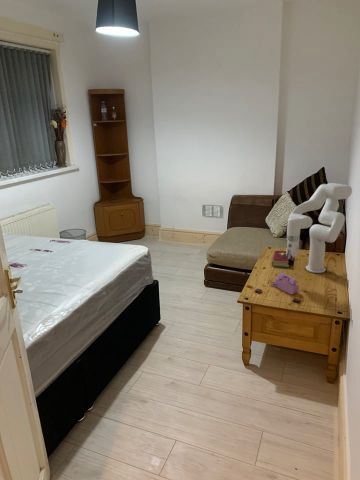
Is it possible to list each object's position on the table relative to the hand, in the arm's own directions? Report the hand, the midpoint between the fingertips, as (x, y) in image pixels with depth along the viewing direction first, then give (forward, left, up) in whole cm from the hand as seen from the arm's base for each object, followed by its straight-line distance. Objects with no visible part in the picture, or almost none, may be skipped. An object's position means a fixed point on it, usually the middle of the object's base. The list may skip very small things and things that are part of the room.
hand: (290, 264), depth 223 cm
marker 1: (+23, -12, -12) cm, 28 cm away
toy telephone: (+12, 0, -12) cm, 16 cm away
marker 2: (+23, +11, -12) cm, 28 cm away
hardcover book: (-28, -15, -12) cm, 34 cm away
